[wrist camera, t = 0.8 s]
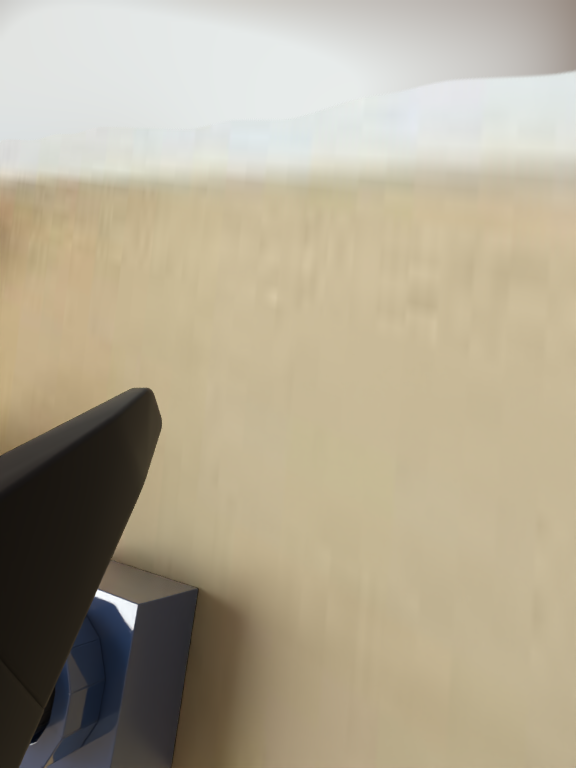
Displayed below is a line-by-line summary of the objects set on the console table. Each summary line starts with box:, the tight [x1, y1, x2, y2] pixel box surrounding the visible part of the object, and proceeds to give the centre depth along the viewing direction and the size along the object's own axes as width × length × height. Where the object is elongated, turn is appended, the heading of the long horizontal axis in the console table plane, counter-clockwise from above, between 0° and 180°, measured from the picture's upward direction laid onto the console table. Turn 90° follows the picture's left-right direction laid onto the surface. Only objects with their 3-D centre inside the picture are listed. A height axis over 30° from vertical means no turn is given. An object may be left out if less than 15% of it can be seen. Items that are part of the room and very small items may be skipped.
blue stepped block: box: [19, 560, 198, 768], centre depth 26 cm, size 10×10×7 cm
